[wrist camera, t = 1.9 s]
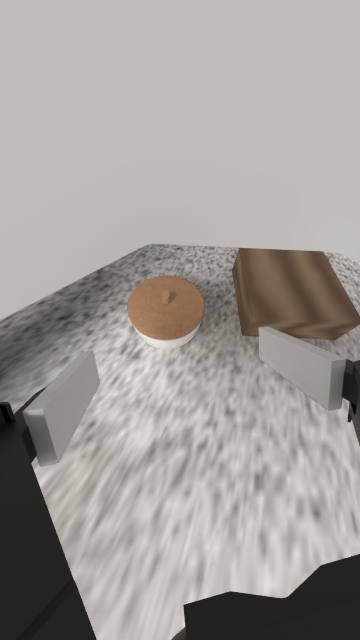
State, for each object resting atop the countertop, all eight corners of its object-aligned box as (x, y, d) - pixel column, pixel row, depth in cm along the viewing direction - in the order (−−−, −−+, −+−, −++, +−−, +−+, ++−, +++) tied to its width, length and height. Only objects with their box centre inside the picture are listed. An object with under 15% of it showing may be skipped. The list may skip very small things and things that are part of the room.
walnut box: (241, 336, 33) (253, 317, 28) (231, 271, 42) (239, 248, 37) (334, 340, 33) (363, 322, 28) (304, 274, 42) (322, 251, 37)
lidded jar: (148, 300, 36) (141, 261, 28) (203, 311, 35) (212, 274, 27) (126, 351, 31) (110, 319, 23) (192, 366, 29) (198, 339, 22)
